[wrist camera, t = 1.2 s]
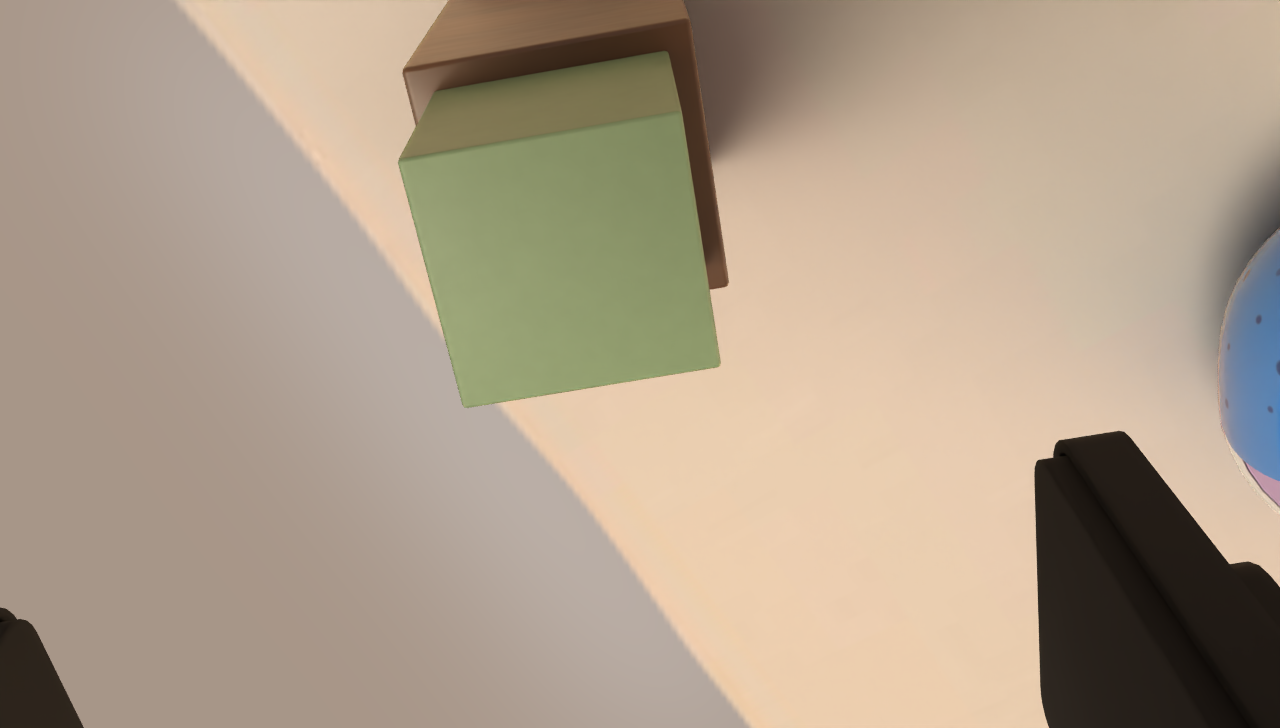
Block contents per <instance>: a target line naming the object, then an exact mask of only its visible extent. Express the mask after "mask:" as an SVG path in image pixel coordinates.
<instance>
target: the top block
mask: <svg viewBox="0 0 1280 728" xmlns="http://www.w3.org/2000/svg"><path fill="white" fill-rule="evenodd" d="M398 164H399V168H400V172H401V175H402V179H403V183H404V187H405V190H406V194H407V198H408V202H409V205H410V209H411V213H412V217H413V220H414V224H415V228H416V232H417V236H418V239H419V243H420V247H421V251H422V254H423V258H424V262H425V266H426V269H427V273H428V277H429V281H430V284H431V288H432V292H433V296H434V300H435V303H436V307H437V311H438V315H439V318H440V322H441V326H442V330H443V333H444V337H445V341H446V345H447V348H448V352H449V356H450V360H451V364H452V367H453V371H454V375H455V378H456V382H457V386H458V390H459V393H460V397H461V401H462V405H463V406H464V407H465V408H469V407H475V406H482V405H488V404H494V403H500V402H506V401H512V400H519V399H525V398H531V397H537V396H543V395H549V394H556V393H562V392H568V391H574V390H580V389H586V388H593V387H599V386H605V385H611V384H617V383H623V382H630V381H636V380H642V379H648V378H654V377H660V376H666V375H673V374H679V373H685V372H691V371H697V370H703V369H710V368H716V367H719V366H720V363H721V361H720V355H719V349H718V342H717V336H716V329H715V323H714V316H713V310H712V303H711V297H710V290H709V284H708V277H707V271H706V265H705V258H704V252H703V245H702V239H701V232H700V226H699V219H698V213H697V206H696V200H695V194H694V187H693V181H692V174H691V168H690V161H689V155H688V148H687V142H686V135H685V129H684V123H683V116H682V111H681V107H680V102H679V98H678V93H677V89H676V84H675V80H674V75H673V71H672V67H671V62H670V58H669V54H668V52H667V51H660V52H655V53H649V54H643V55H638V56H632V57H626V58H621V59H615V60H609V61H604V62H598V63H592V64H586V65H581V66H575V67H569V68H564V69H558V70H552V71H547V72H541V73H535V74H530V75H524V76H518V77H513V78H507V79H501V80H496V81H490V82H484V83H478V84H473V85H467V86H461V87H456V88H450V89H444V90H439V91H435V92H434V93H433V95H432V97H431V99H430V101H429V103H428V105H427V106H426V108H425V110H424V112H423V114H422V116H421V118H420V120H419V122H418V124H417V126H416V128H415V129H414V131H413V133H412V135H411V137H410V139H409V141H408V143H407V145H406V147H405V149H404V151H403V152H402V154H401V156H400V158H399V161H398Z"/></svg>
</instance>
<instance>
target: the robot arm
mask: <svg viewBox="0 0 1280 728" xmlns="http://www.w3.org/2000/svg"><path fill="white" fill-rule="evenodd" d="M1035 511H1036V546H1037V581H1038V616H1039V651H1040V686H1041V697H1042V703H1043V708H1044V712H1045V716H1046V720H1047V723H1048V726H1049V728H1280V587H1279V586H1278V584H1277V583H1276V582H1275V581H1274V580H1273V578H1272V577H1271V576H1270V575H1269V574H1268V573H1267V572H1266V571H1265V570H1264V569H1262V568H1261V567H1260V566H1259V565H1257V564H1254V563H1251V562H1242V563H1235V564H1229V563H1228V562H1227V561H1226V559H1225V558H1224V557H1223V556H1222V554H1221V553H1220V552H1219V550H1218V549H1217V548H1216V547H1215V545H1214V544H1213V543H1212V542H1211V540H1210V539H1209V538H1208V536H1207V535H1206V534H1205V533H1204V531H1203V530H1202V529H1201V527H1200V526H1199V525H1198V524H1197V522H1196V521H1195V520H1194V518H1193V517H1192V516H1191V515H1190V513H1189V512H1188V511H1187V510H1186V508H1185V507H1184V506H1183V504H1182V503H1181V502H1180V501H1179V499H1178V498H1177V497H1176V495H1175V494H1174V493H1173V492H1172V490H1171V489H1170V488H1169V487H1168V485H1167V484H1166V483H1165V481H1164V480H1163V479H1162V478H1161V476H1160V475H1159V474H1158V472H1157V471H1156V470H1155V469H1154V467H1153V466H1152V465H1151V464H1150V462H1149V461H1148V460H1147V458H1146V457H1145V456H1144V455H1143V453H1142V452H1141V451H1140V449H1139V448H1138V447H1137V446H1136V444H1135V443H1134V442H1133V441H1132V439H1131V438H1130V437H1129V436H1128V435H1127V434H1126V433H1125V432H1122V431H1116V432H1110V433H1103V434H1097V435H1091V436H1084V437H1078V438H1071V439H1065V440H1059V441H1058V442H1057V443H1056V445H1055V449H1054V454H1053V458H1048V459H1042V460H1038V461H1037V462H1036V466H1035ZM0 728H84V727H83V725H82V723H81V721H80V719H79V717H78V715H77V713H76V711H75V709H74V707H73V705H72V703H71V701H70V699H69V697H68V695H67V693H66V691H65V689H64V687H63V685H62V683H61V681H60V679H59V676H58V675H57V672H56V671H55V668H54V666H53V664H52V662H51V660H50V658H49V656H48V654H47V652H46V650H45V648H44V646H43V644H42V642H41V640H40V638H39V636H38V634H37V632H36V630H35V629H34V627H33V626H32V624H30V623H29V622H28V621H26V620H22V619H18V620H17V619H16V617H15V616H14V615H13V614H12V613H11V612H10V611H8V610H7V609H5V608H0Z"/></svg>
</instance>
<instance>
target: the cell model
mask: <svg viewBox="0 0 1280 728" xmlns="http://www.w3.org/2000/svg"><path fill="white" fill-rule="evenodd" d="M1218 404H1219V412H1220V419H1221V427H1222V430H1223V433H1224V435H1225V438H1226V441H1227V443H1228V446H1229V449H1230V451H1231V453H1232V455H1233V457H1234V459H1235V461H1236V463H1237V465H1238V468H1239V470H1240V472H1241V473H1242V475H1243V476H1244V478H1245V479H1246V480H1247V482H1248V483H1249V484H1250V486H1251V487H1252V488H1253V490H1254V491H1255V493H1256V494H1257V495H1258V496H1259V497H1260V498H1261V499H1262V500H1263V501H1264V502H1265V503H1266V504H1267V505H1269V506H1270V507H1271V508H1272V509H1273V510H1274V511H1275V512H1276V513H1278V514H1279V515H1280V227H1279V228H1278V229H1277V230H1276V231H1275V232H1274V233H1273V234H1272V235H1271V236H1270V237H1269V238H1268V239H1267V240H1266V241H1265V242H1264V243H1263V244H1262V246H1261V247H1260V248H1259V249H1258V251H1257V252H1256V253H1255V254H1254V256H1253V257H1252V258H1251V259H1250V261H1249V262H1248V264H1247V265H1246V267H1245V269H1244V270H1243V272H1242V274H1241V275H1240V277H1239V279H1238V280H1237V282H1236V283H1235V286H1234V288H1233V291H1232V293H1231V296H1230V298H1229V300H1228V303H1227V306H1226V309H1225V313H1224V318H1223V322H1222V326H1221V330H1220V339H1219V347H1218Z"/></svg>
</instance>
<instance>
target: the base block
mask: <svg viewBox="0 0 1280 728" xmlns="http://www.w3.org/2000/svg"><path fill="white" fill-rule="evenodd" d="M660 51H667V52H668V54H669V58H670V62H671V67H672V71H673V75H674V80H675V84H676V89H677V93H678V98H679V102H680V107H681V111H682V116H683V123H684V129H685V135H686V142H687V148H688V155H689V161H690V168H691V174H692V181H693V187H694V194H695V200H696V206H697V213H698V219H699V226H700V232H701V239H702V245H703V252H704V258H705V265H706V271H707V277H708V284H709V290H710V289H716V288H722V287H726V286H728V283H729V280H728V273H727V266H726V259H725V252H724V245H723V239H722V232H721V225H720V218H719V211H718V205H717V198H716V191H715V184H714V177H713V170H712V164H711V157H710V150H709V143H708V136H707V130H706V123H705V116H704V109H703V102H702V95H701V89H700V82H699V75H698V68H697V61H696V55H695V48H694V41H693V34H692V27H691V21H690V18H689V16H688V13H687V10H686V7H685V4H684V1H683V0H449V1H448V2H447V4H446V5H445V7H444V8H443V10H442V11H441V13H440V14H439V16H438V17H437V19H436V20H435V22H434V23H433V25H432V26H431V28H430V29H429V31H428V32H427V34H426V35H425V37H424V38H423V40H422V41H421V43H420V44H419V46H418V47H417V49H416V50H415V52H414V53H413V55H412V57H411V58H410V60H409V61H408V63H407V64H406V66H405V67H404V69H403V77H404V81H405V85H406V89H407V93H408V96H409V100H410V104H411V108H412V112H413V116H414V120H415V124H416V126H417V124H418V122H419V120H420V118H421V116H422V114H423V112H424V110H425V108H426V106H427V105H428V103H429V101H430V99H431V97H432V95H433V93H434V92H435V91H439V90H444V89H450V88H456V87H461V86H467V85H473V84H478V83H484V82H490V81H496V80H501V79H507V78H513V77H518V76H524V75H530V74H535V73H541V72H547V71H552V70H558V69H564V68H569V67H575V66H581V65H586V64H592V63H598V62H604V61H609V60H615V59H621V58H626V57H632V56H638V55H643V54H649V53H655V52H660Z"/></svg>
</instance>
